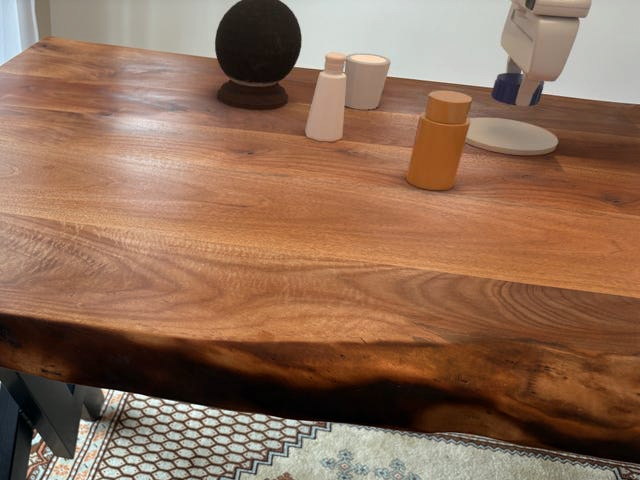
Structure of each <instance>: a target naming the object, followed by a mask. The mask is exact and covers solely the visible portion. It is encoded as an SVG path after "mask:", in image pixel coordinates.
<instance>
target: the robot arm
mask: <svg viewBox="0 0 640 480" xmlns="http://www.w3.org/2000/svg"><path fill="white" fill-rule="evenodd" d="M592 1H593V0H509V2H511V5H510V7H509V11H508V12H507V16H506V19H505V22H504V25H503V29H502V32H501V36H500V47H502V49H503V50H504V51H505V52H506V54H507V55H508V56H507V59H506V68H505V73H518V74H523V76H522V83H521V85H520V88H519V90H517V91H516V95H515V98H514V102H515V103H516V105H517V107H529V106H528V105H529V104H530V102H531V98H532V95H533V93H534V92H535V90H536V89H537V87H538V86H539V84H540V82H541V81H544V82H551V83H552V82H556V80H558V79H559V77H560V76H561V74H562V73H563V71H564V69H565V66H566V64H567V62H568V59H569V56H570V54H571V51H572V50H573V47H574V44H575V42H576V38H577V35H578V33H579V30H580V23H581V22H580V19H586V18H587V17H588V15H589V13H590V10H591V6H592V3H593V2H592ZM516 105H515V106H516Z"/></svg>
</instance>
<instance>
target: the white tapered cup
mask: <svg viewBox="0 0 640 480" xmlns="http://www.w3.org/2000/svg"><path fill="white" fill-rule="evenodd" d="M345 56H346V57H347V58H346V60H345V66H344V74H345V75H346V92H345V106H344V107H348V108H350V109H355V110H362V111H363V110H365V111H366V110H368V109H369V110H375V109H377V108H378V107H379V105H380V101H381V97H382V94H383V91H384V87H385V84H386V80H387V77H388V74H389V70H390V67H391V64H392V63H391V62H392V61H391V59H390V58H388V57H386V56H382V55H380V54H374V53H373V54H372V53H351V54H348V55H345ZM376 107H377V108H376Z"/></svg>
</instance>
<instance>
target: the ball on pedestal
mask: <svg viewBox="0 0 640 480" xmlns="http://www.w3.org/2000/svg"><path fill="white" fill-rule="evenodd" d="M302 40H303V37H302V30H301V26H300V23H299V20H298V18H297V16H296V14H295V13H294V11H293V10H292V9H291V8H290V7H289V5H287V4H286V3H285V2H283V1H282V0H239V1H236V3H234V4H233V5H231V7H229V9H228V10H227V11H226V12H225V13H224V15H222V18H221V20H220V21H219V23H218V26H217V29H216V32H215V39H214V52H215V57H216V60H217V63H218V65H219V67H220V68H221V70H222V72H223V73H224V75H225V76H226V77H228V79H229V80H228V81H226V82H223V83H222V85H220V88H219V89H218V90H217V96H216V99H217V100H218V101H219V102H220V103H222V104H225V105H226V106H230V107H234V108H239V109H245V110H256V111H257V110H259V111H261V110H262V111H264V110H274V109H278V108H282V107H284V106H286V105H287V104H288V101H289V95H288V93H287V92H286V89H285V88H284V87H283V86H282V85H280V83H279V82H281V81H282V80H284V79H285V78H287V76H288V75H289V74H290V73H291V72H292V70H293V69H294V67H295V66H296V64H297V62H298V59H299V57H300V54H301V50H302Z"/></svg>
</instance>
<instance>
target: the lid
mask: <svg viewBox="0 0 640 480" xmlns="http://www.w3.org/2000/svg"><path fill="white" fill-rule="evenodd" d="M522 76H523V73H521V74H518V73H506V72H503V73H499V74H497V77H496V78H495V80H494V84H493V86H492V91H491V93H490V95H491V98H492V99H493V100H495V101H497V102H499V103H502V104H505V105H510V106H517V105H516V103H515V102H514V98H515V95H516V91H517V90H519V88H520V85H521V83H522ZM544 86H545V81H541V82H540V84H539V86H538V87H537V89H536V90H535V92H534V93H533V95H532V98H531V102H530V104H529V105H528V106H527V107H532V106H533V107H534V106H536V105H538V104H539V102H540V100H541V96H542V93H543V90H544ZM517 107H518V106H517Z"/></svg>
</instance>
